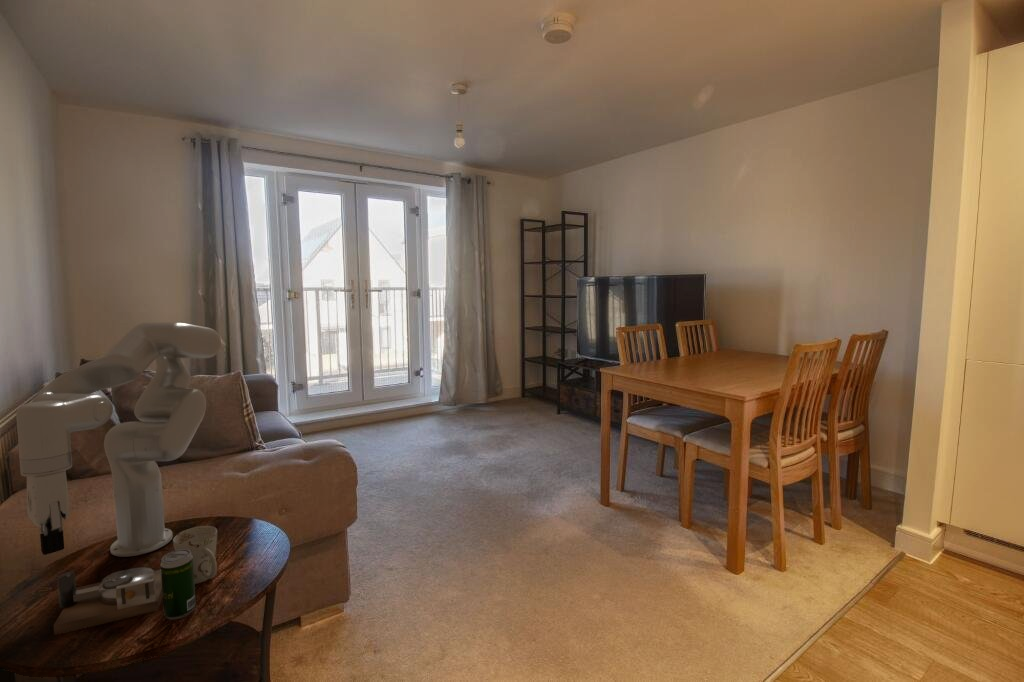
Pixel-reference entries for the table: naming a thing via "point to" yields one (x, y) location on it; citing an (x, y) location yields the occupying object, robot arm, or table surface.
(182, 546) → the mug
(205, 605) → the table surface
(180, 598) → the beer can
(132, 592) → the levelling stand
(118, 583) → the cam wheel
